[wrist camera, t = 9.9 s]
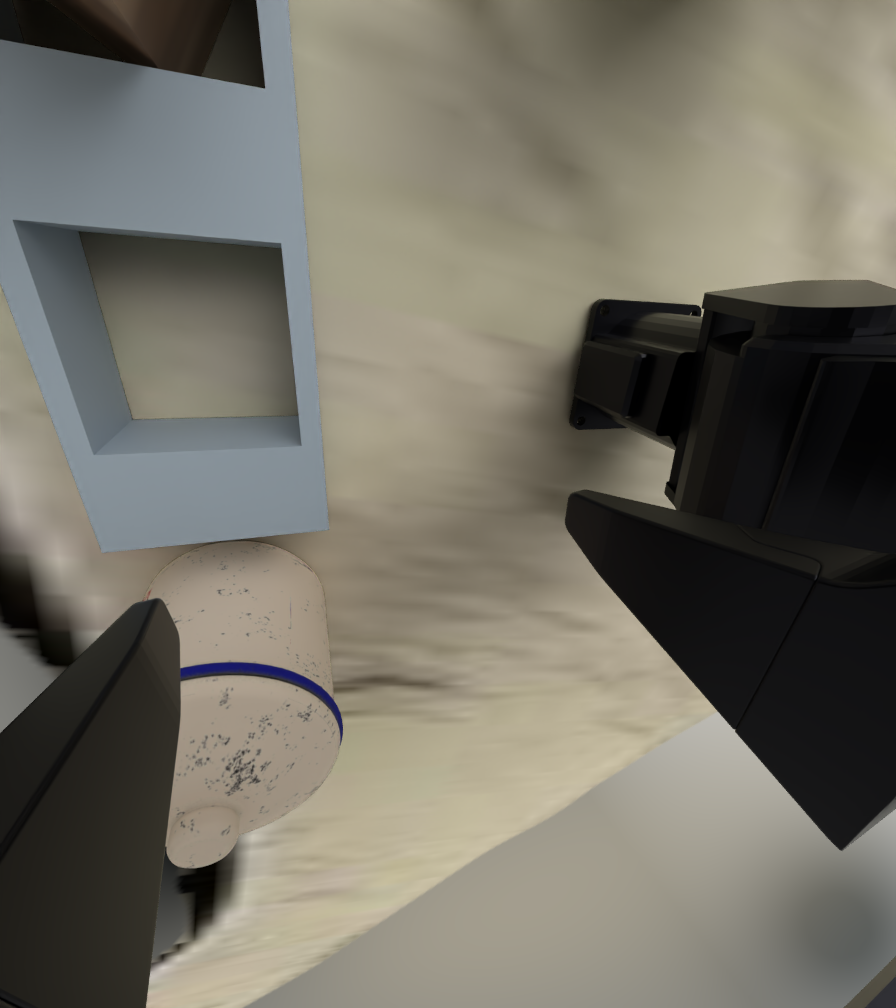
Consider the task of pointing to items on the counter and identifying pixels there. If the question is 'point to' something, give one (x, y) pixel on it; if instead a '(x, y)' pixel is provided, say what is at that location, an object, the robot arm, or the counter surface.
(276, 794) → the teacup with lid
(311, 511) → the blue peg holder
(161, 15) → the peg
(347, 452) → the counter surface
